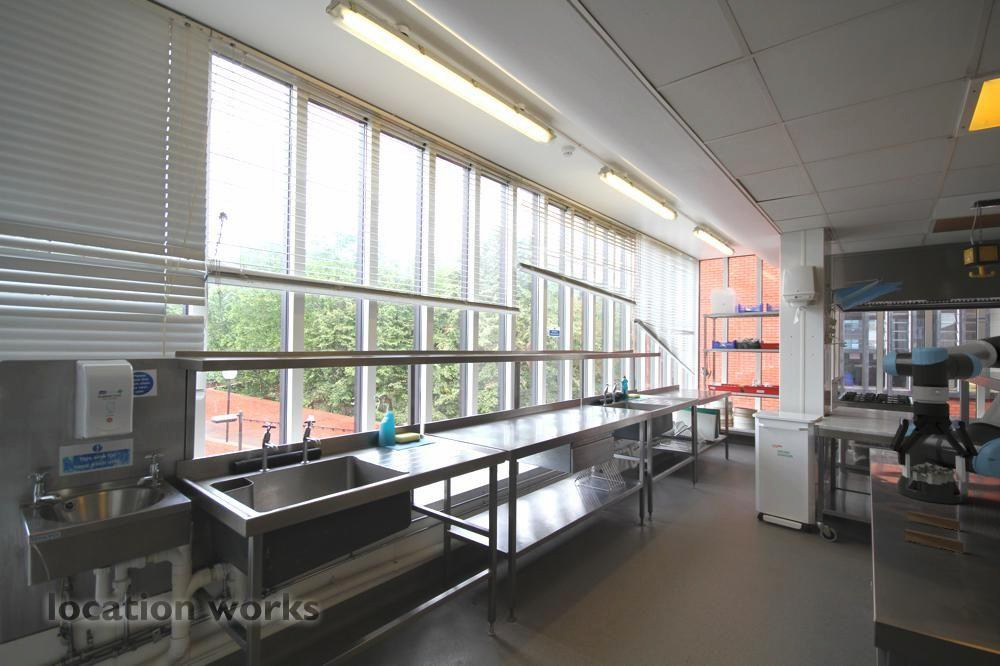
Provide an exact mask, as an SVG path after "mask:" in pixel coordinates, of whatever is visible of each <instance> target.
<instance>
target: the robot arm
mask: <svg viewBox="0 0 1000 666" xmlns="http://www.w3.org/2000/svg"><path fill="white" fill-rule="evenodd" d="M881 361H882V362H881V363H882V369H883V371H884V372H885V373H886V374H887V375H889V376H896V377H898V378H899V377H908V378H909V377H911V378H912V400H914V401H913V402H912V410H913V411H912V413H913V417H912V418H904V417H899V424H898V428H897V429H896V432H895V434H894V437H893V439H892V441H891V442H890V444H889V447H888V448H889V449H890V450H892V451H894V452H896V453H897V462H898V464H899V465H901V473H900V476H899V479H898V480H897V483H896V492H897V493H899V495H902V496H905V497H909V498H910V499H911V498H913V499H916V500H920V501H924V502H931V503H938V504H945V505H948V504H949V505H951V504H952V505H954V504H955V505H957V504H960V503H962V502H963V499H962V497H963V496H962V493H961V490H960V488H959V486H958V483H957V482H956V480H958V481H959V482H960V483H967V482H966V477H967V476H966V473H970V474H974V475H978V476H981V477H985V478H994V479H999V480H1000V391H999V392H998V393H997V395H995V398H994V399H993V401H991V403H990V405H989V407H988V408H987V409H986V411H985V413H984V414H983V415H982V417H981V418H980V420H979V421H973V422H970V423H968V425H967V426H966V423H965V421H963V420H960V419H955V420H951V418H950V417H951V416H950V415H951V413H950V412H951V410H950V408H951V407H950V404H949V401H950V384H949V380H953V381H954V380H955V381H956V380H957V381H958V380H962V381H966V380H970V379H974V378H977V377H978V376H979V375H981V373H982V371H983V369H1000V335H995V336H990V337H984V338H979V339H978V338H977V339H972V340H969V341H967V342H965V343H964V344H959V345H951V346H944V347H939V346H935V347H934V346H930V347H929V346H927V347H925V346H923V347H920V346H918V347H917V346H916V347H914V348H913V349H912V351H909V352H900V351H898V352H889V353H887V354H885V356H883V358H882V360H881ZM954 429H955V430H954ZM926 462H927V463H930V464H932V465H937V466H941V467H943V468H948V470H950V471H953V470H955V471H956V472H955V473H956V474H955V475H954V476H953V479H954V481H953V482H951V481H947V482H948V483H942V484H941V485H937V484H928V482H924V481H916V480H913V479H912V478H910V466H911V467H913V466H916V465H918V464H919V465H920V464H921V465H922V464H924V463H926ZM955 477H956V479H955Z"/></svg>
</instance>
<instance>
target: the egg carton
mask: <svg viewBox="0 0 1000 666" xmlns="http://www.w3.org/2000/svg"><path fill="white" fill-rule="evenodd" d="M955 475H956V469H953V471H950V470H948V468H943V467H941V466H937V465H932V464H930V463H927V462H926V463H924V464H922V465H921V464H920V465H919V464H918V465H916V466H913V467H911V466H910V478H912V479H913V480H916V481H924V482H928V484H937V485H941V484H942V483H948V482H947V481H951V482H953V481H954V479H953V476H954V477H955Z"/></svg>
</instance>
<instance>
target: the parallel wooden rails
mask: <svg viewBox="0 0 1000 666" xmlns="http://www.w3.org/2000/svg"><path fill="white" fill-rule="evenodd" d="M908 520H911V521H916V522H921V523H925V524H930V525H935V526H940V527H945V528H949V529H954V530H959V531H960V530H961V528H960V527H961V523H960V522H961V521H960V520H959V519H954V518H950V517H949V518H948V517H943V516H938V515H932V514H927V513H922V512H917V511H913V510H912V511H911V510H907V521H908ZM949 529H948V530H949ZM954 530H953V531H954ZM959 531H958V532H959ZM960 532H961V531H960ZM904 535H905V536H904V537H905V540H907V541H906V542H908V541H912V542H916V543H915V544H917V543H921V544H925V545H930V546H933V547H932V548H934V547H937V548H936V549H939V548H943V549H947V550H946V551H948V550H952V551H955V552H954V553H957V552H960V553H959V554H961V553H963V554H964V541H963V540H960V539H959V540H958V539H956V538H950V537H946V536H941V535H937V534H931V533H927V532H926V533H925V532H922V531H916V530H914V529H913V530H912V529H907V528H905V531H904ZM912 542H911V543H912ZM921 544H920V545H921ZM925 545H924V546H925ZM930 546H929V547H930ZM943 549H942V550H943ZM952 551H951V552H952Z"/></svg>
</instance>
